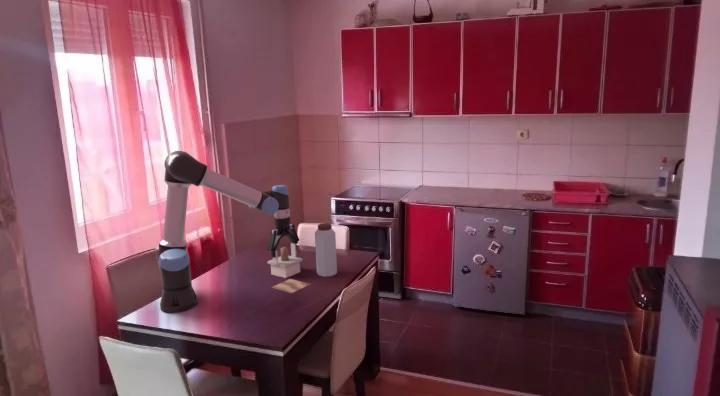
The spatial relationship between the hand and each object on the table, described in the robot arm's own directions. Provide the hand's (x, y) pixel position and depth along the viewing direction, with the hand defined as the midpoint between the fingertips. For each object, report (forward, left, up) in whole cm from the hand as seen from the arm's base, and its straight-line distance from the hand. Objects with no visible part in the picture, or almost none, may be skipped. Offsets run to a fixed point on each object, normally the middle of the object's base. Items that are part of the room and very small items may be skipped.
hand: (284, 259), depth 248 cm
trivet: (-11, -14, -7) cm, 19 cm away
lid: (0, 0, -1) cm, 1 cm away
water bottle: (+10, -18, -8) cm, 22 cm away
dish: (0, 0, -7) cm, 7 cm away
